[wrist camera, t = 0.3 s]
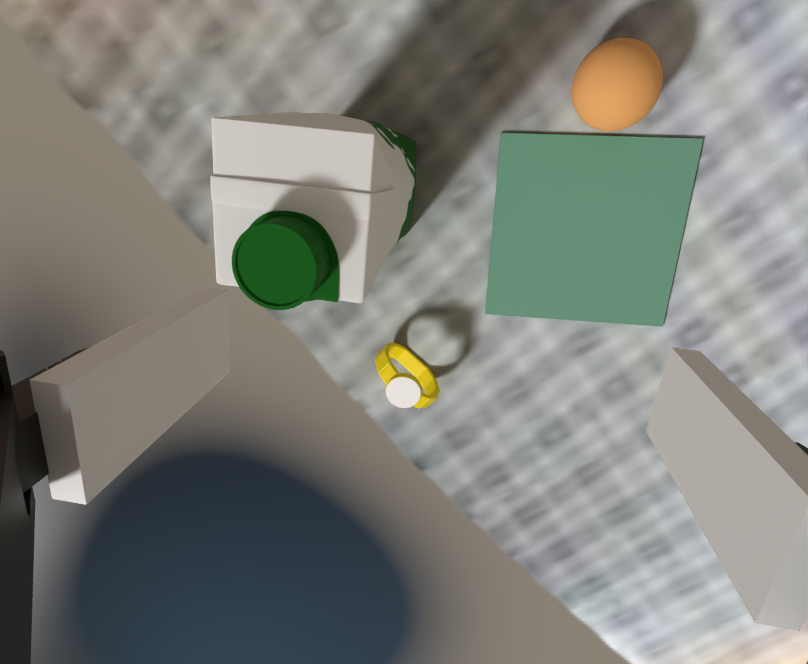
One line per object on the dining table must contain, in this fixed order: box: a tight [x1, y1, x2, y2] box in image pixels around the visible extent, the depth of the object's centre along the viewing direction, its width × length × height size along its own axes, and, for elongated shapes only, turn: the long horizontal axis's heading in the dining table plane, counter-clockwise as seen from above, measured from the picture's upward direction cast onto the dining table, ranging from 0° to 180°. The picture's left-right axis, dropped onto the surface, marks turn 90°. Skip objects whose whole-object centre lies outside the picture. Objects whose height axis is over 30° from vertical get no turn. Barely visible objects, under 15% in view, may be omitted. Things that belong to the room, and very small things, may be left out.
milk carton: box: [211, 112, 416, 310], centre depth 31 cm, size 9×9×20 cm
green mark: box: [485, 133, 703, 326], centre depth 40 cm, size 14×14×1 cm
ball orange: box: [572, 38, 663, 131], centre depth 34 cm, size 6×6×6 cm
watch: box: [375, 343, 440, 408], centre depth 43 cm, size 6×3×6 cm, turn 48°
